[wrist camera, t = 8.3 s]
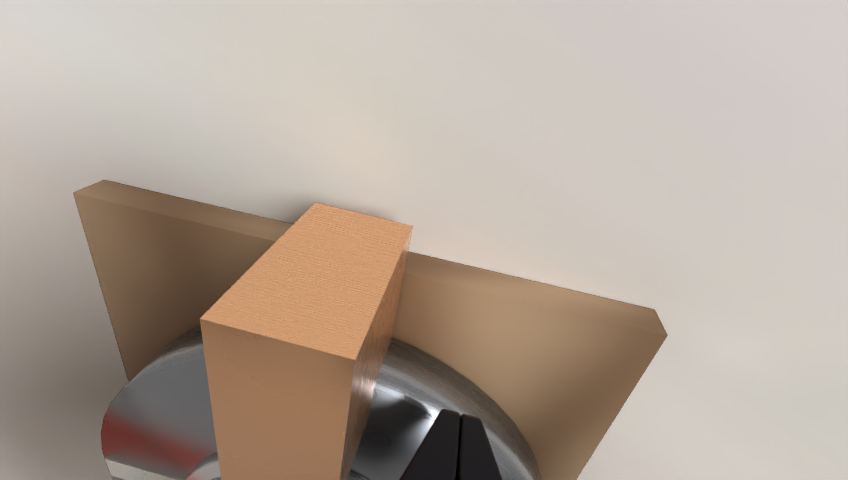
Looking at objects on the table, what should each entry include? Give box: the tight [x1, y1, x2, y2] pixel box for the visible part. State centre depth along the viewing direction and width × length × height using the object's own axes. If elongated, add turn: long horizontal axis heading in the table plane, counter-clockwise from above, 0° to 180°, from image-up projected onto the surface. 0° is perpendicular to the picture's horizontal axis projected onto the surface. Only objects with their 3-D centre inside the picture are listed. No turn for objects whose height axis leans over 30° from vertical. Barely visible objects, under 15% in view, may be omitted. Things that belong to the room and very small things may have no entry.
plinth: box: [73, 180, 667, 480], centre depth 16 cm, size 16×19×1 cm
